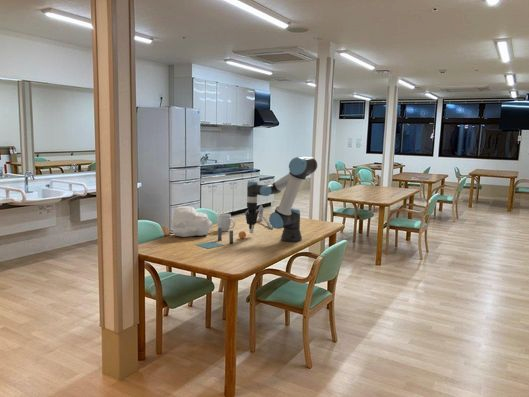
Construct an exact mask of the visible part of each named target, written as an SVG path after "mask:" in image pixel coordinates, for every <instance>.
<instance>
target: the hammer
mask: <svg viewBox="0 0 529 397" xmlns="http://www.w3.org/2000/svg"><path fill="white" fill-rule="evenodd" d="M257 209H258V211H259V213H258V216H257V217H258V218H257V222H265V223H266V225H267V227H268V228H269V230H274V228H273V227H272V226H271V224H270V222H269V219H267V218H266V216H265V215H264V209H265V208H264V207H263V204H262V203H260V205H259V207H258V208H257Z"/></svg>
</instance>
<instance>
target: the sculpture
mask: <svg viewBox="0 0 529 397" xmlns="http://www.w3.org/2000/svg"><path fill="white" fill-rule="evenodd" d="M211 227H213V222H212V221H211V220H210V219H209V217H208V214H206V213H205V212H201V211H197V210H196V208H194V207H193V206H190V205H187V206H186V205H185V206H183V205H182V206H178V207H176V208H175V209H174V210H173V214H172V220H171V228H172V233H173V235H174V236H176V237H182V238H188V237H195V236H200V237H201V236H205V235H208V234H209V232H210V228H211Z"/></svg>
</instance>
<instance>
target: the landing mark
mask: <svg viewBox="0 0 529 397" xmlns="http://www.w3.org/2000/svg"><path fill="white" fill-rule="evenodd" d="M195 246H198V247H201V248H204V249H207V250H208V249H213V248H219V247H223V246H224V244H222V243H218V242H215V241H207V242H202V243H201V242H200V243H196V244H195Z"/></svg>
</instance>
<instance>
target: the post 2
mask: <svg viewBox="0 0 529 397" xmlns="http://www.w3.org/2000/svg"><path fill="white" fill-rule="evenodd" d="M228 231H229V232H228V233H229V234H228V236H229V239H228V241H229V243H228V244H229V245H233V244H234V230H228Z"/></svg>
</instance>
